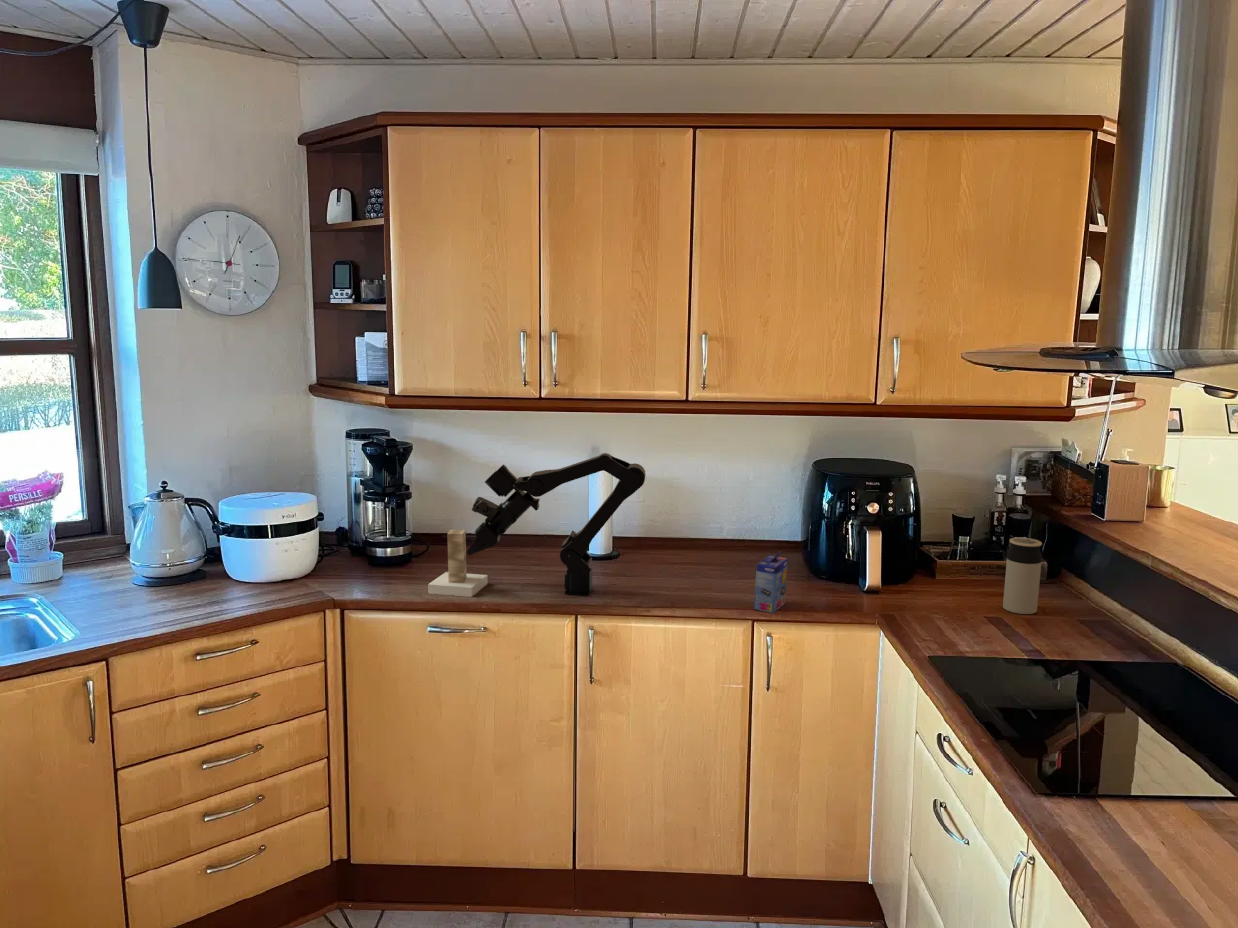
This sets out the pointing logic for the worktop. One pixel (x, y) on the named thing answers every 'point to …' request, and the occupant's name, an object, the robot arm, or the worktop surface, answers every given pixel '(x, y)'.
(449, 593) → the cream square slab
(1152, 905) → the worktop surface
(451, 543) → the birch block
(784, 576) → the ink cartridge box
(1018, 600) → the travel mug
